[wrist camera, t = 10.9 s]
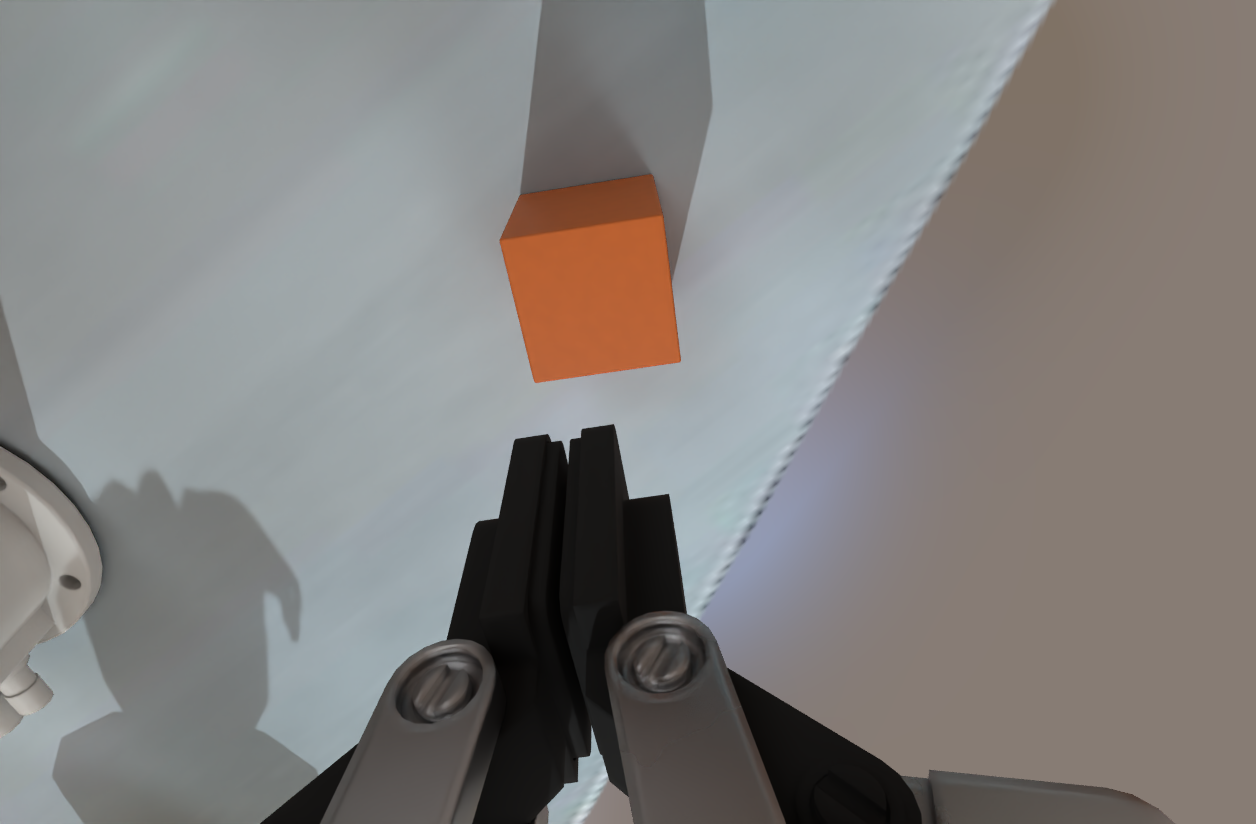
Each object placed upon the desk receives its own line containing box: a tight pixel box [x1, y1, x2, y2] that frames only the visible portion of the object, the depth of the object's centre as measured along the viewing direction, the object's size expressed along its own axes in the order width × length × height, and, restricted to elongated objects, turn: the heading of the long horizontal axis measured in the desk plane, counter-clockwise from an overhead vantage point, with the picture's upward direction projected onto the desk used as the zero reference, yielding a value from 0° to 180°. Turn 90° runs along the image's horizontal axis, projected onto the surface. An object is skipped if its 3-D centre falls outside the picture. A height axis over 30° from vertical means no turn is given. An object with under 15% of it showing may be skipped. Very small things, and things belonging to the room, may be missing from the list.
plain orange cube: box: [500, 174, 681, 383], centre depth 23 cm, size 5×5×5 cm
